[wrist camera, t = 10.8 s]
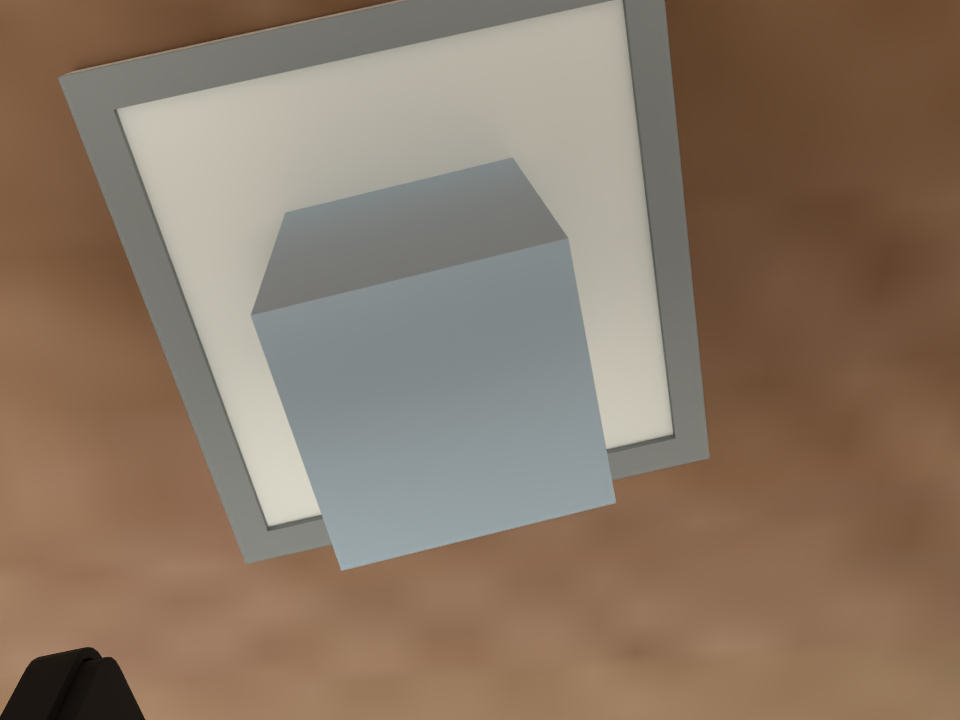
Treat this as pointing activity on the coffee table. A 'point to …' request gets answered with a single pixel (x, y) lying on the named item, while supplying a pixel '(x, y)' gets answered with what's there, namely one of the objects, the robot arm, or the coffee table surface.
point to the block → (433, 363)
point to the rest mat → (386, 163)
